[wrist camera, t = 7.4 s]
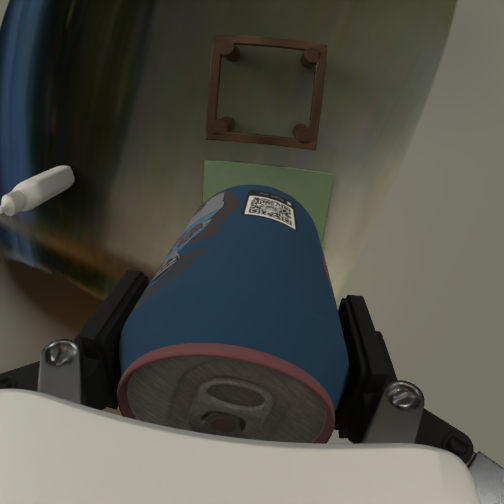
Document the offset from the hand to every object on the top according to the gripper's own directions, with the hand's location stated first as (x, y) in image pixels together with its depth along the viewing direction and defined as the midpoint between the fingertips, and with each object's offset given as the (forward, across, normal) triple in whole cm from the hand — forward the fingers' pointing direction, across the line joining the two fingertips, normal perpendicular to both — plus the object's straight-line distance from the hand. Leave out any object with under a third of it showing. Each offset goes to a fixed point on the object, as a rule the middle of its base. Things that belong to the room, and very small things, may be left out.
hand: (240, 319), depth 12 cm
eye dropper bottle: (+26, +27, +2) cm, 37 cm away
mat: (+26, 0, +4) cm, 26 cm away
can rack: (+26, +1, -9) cm, 27 cm away
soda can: (+7, 0, 0) cm, 7 cm away
